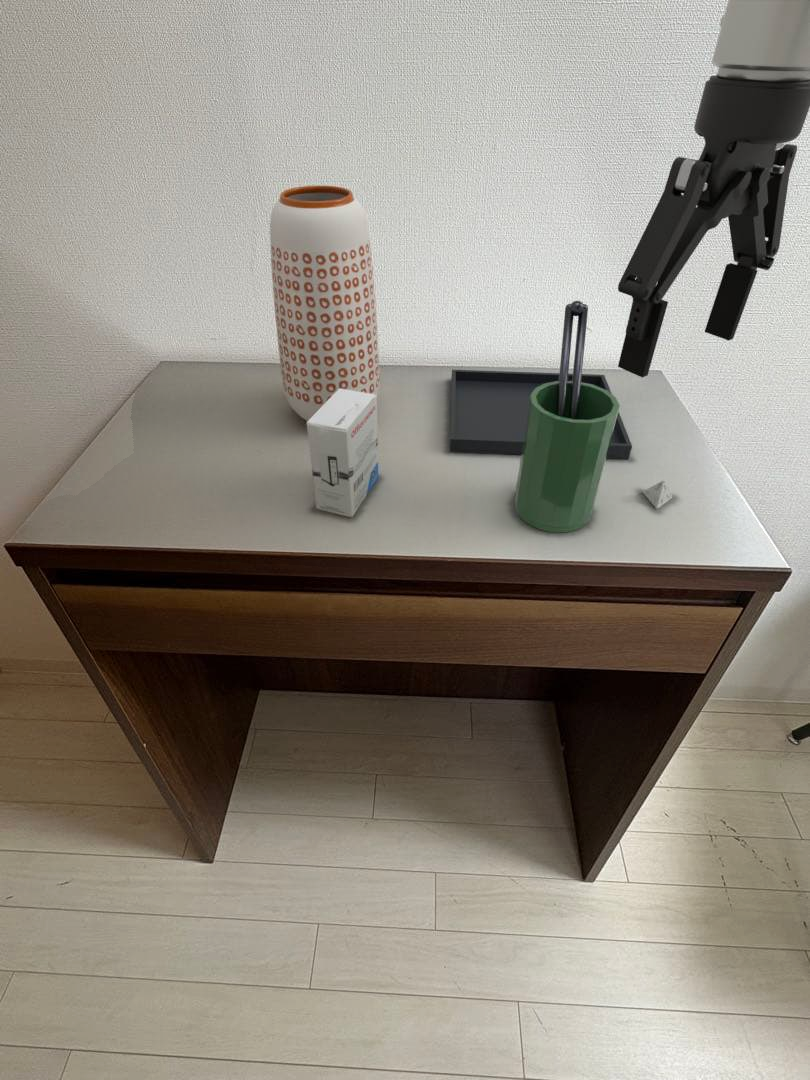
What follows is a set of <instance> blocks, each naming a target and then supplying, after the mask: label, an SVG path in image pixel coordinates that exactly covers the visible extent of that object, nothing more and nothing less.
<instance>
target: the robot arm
mask: <svg viewBox="0 0 810 1080" xmlns="http://www.w3.org/2000/svg"><path fill="white" fill-rule="evenodd" d="M719 26H720V29H719V33H718V36H717V40H716V43H715V47H714V51H713V55H712V57H711V58H712V59H711V63H712V64H713V67H717V68H718V69H717V74H715V75H710V77H709V79H708V80H706V81H705V83H704V87H703V91H702V94H701V99H700V103H699V106H698V110H697V114H696V118H695V122H694V126H693V127H694V128H693V129H694V132H695V134H696V135H698V136H699V137H701V138H702V137H703V139H704V146H703V149H702V152H701V154H700V156H699V158H698V159H694V158H688V157H683V156H678V157H677V156H676V158H675V159H674V160H673V162H672V164H671V167H670V170H669V173H668V177H667V180H666V183H665V186H664V189H663V192H662V194H661V197H660V198H659V201H658V203H657V205H656V207H655V208H654V211H653V212H652V215H651V217H650V219H649V221H648V223H647V224H646V227H645V229H644V231H643V234H641V237H640V238H639V242H638V243H637V246H636V247H635V249H634V251H633V254H632V256H631V258H630V260H629V261H628V264H627V265H626V268H625V270H624V272H623V274H622V276H621V278H620V280H619V282H618V285H617V291H618V292H619V293H622V294H625V295H627V296H630V297H631V298H632V303H631V307H630V313H629V316H628V320H627V324H626V328H625V335H624V340H623V343H622V348H621V352H620V356H619V360H618V364H617V368H619V369H622V370H625V371H627V372H629V373H631V374H634V375H636V376H638V377H640V378H645V377H647V376H648V375H649V372H650V368H651V366H652V361H653V357H654V354H655V350H656V347H657V343H658V340H659V337H660V332H661V329H662V325H663V323H664V318H665V315H666V311H667V307H668V305H669V301H667V300H664V299H663V298H664V297H665V295H666V294H667V292H668V291H669V289H670V288H671V287H672V285H673V283H674V282H675V280H676V279H677V277H678V276H679V274H680V273H681V272H682V270H683V269H684V267H685V265H686V264H687V262H688V261H689V259H690V258H691V256H692V255H693V254H694V252H695V251H696V249H697V248H698V246H699V244H700V243H701V241H702V240H703V239H704V237H705V236H706V234H707V232H708V231H710V230H712V229H715V228H717V227H718V225H719V224H721V221H722V220H724V219H727V218H728V226H729V233H730V240H731V241H730V242H731V249H732V255H733V256H732V257H733V261H734V263H732V262H729V263H727V264H726V265H725V267H724V271H723V274H722V278H721V280H720V284H719V285H718V289H717V292H716V295H715V298H714V301H713V304H712V307H711V310H710V314H709V317H708V320H707V323H706V326H705V328H704V333H706V334H709V335H712V336H715V337H717V338H720V339H723V340H725V341H732V340H734V337H735V334H736V331H737V329H738V326H739V323H740V321H741V319H742V315H743V312H744V309H745V308H746V304H747V301H748V299H749V296H750V293H751V290H752V287H753V285H754V282H755V279H756V277H757V274H758V272H759V270H757V269H761V270H764V271H769V270H770V269H771V268H772V266H773V265H774V261H775V256H776V255H777V254H778V252H779V249H780V244H781V237H782V230H783V224H784V223H783V222H784V216H785V209H786V201H787V195H788V188H789V180H790V174H791V171H792V167H793V164H794V161H795V158H796V155H797V152H798V145H797V144H789V142H793V141H794V140H796V139H797V138H798V137H799V136H800V134H801V132H802V130H803V127H804V125H805V121H806V119H807V116H808V113H809V111H810V0H727V4H726V6H725V11H724V14H723V15H722V17H721V20H720V23H719ZM766 238H767V240H766ZM735 262H736V264H735Z"/></svg>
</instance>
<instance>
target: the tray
mask: <svg viewBox="0 0 810 1080" xmlns="http://www.w3.org/2000/svg"><path fill="white" fill-rule="evenodd" d="M559 374H560V372H539V371H538V372H535V371H534V372H533V371H532V372H531V371H506V370H505V371H503V370H477V369H451V381H450V384H451V385H450V420H449V421H450V422H449V423H450V424H449V426H450V427H449V453H465V454H466V453H467V454H468V453H469V454H490V455H491V454H492V455H517V456H521V454H522V447H523V441H524V434H525V427H526V421H527V414H528V408H529V401H530V396H531V394H532V392H533V391H534V389H535V388H537V387H539V386H541V385H543V384H545V383H550V382H555V381H559ZM572 379H573V373H568V381H572ZM581 382H583V383H588V384H592V385H595V386H597V387H600V388H602V389H605V390H607V391H608V392H609V393H611V394H612V395H613V393H612V390H611V388H610V385H609V383H608V381H607V378H606V376H605V374H593V373H592V374H591V373H582V377H581ZM632 448H633V444H632V442H631V440H630V437H629V434H628V432H627V429H626V427H625V424H624V422H623V419H622V416H621V414H620V412H619V411H618V415H617V418H616V422H615V426H614V430H613V434H612V438H611V441H610V445H609V449H608V453H607V457H606V459H614V460H629V458H630V456H631V453H632Z"/></svg>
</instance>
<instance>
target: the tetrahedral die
mask: <svg viewBox="0 0 810 1080" xmlns="http://www.w3.org/2000/svg"><path fill="white" fill-rule="evenodd" d="M642 494H643V495H644V496H645V497H646V499H648V501H649V502H650V503H651V504H652V505H653V507H654V508H655V509H656V510H658V509H660V508H661V507H662V506H663V505H665V504H666V503H667V502H669V501H670V500H672V499H673V495H672V493H671V491H670V489H669V487H668V485H667V483H666V481H665V480H664V479H662V480H661V481H660V482H658V483H656V484H654V485H652V486H650V487H649V488H647V489H645V490H643V491H642Z"/></svg>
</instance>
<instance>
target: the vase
mask: <svg viewBox="0 0 810 1080" xmlns="http://www.w3.org/2000/svg"><path fill="white" fill-rule="evenodd" d="M364 210H365V209H364V207H363V206H362V204H361V203H360V201H359V200H358V199H357V198H356V197H355V196H354V193H353V192H352V191H351V190H350V189H348V188H345V187H341V186H334V185H304V186H296V187H292V188H288V189H285V190H283V191H282V192H281V193H280V195H279V198H278V200H277V201H276V202H275V203H274V205H273V207H272V210H271V214H270V221H269V237H270V238H269V240H270V241H269V243H270V264H271V279H272V281H271V282H272V289H273V290H272V293H273V304H274V307H273V308H274V315H275V316H274V317H275V326H276V337H277V346H278V355H279V364H280V373H281V374H280V375H281V381H282V388H283V392H284V395H285V398H286V400H287V402H288V403H289V406H290V407H291V408H292V410H294V412H295V413H296V414H297V415H298V416H299V417H300V418H302V419H303V420H305V422H307V421H308V420H309V419H310V418H311V417H312V416H313V415H314V414H315V413H316V412H317V411H318V410H319V409H320V408H321V407H322V406H323V405H324V404H325V403H326V402H327V401H328V400H329V399H330V398H331V397H332V395H333V394H334V393H335V392H336V391H337V390H338V389H340V388H342V389H348V390H354V391H359V392H365V393H370V394H376V395H377V396H378V395H379V390H380V381H381V375H380V355H379V354H380V353H379V337H378V336H379V335H378V320H377V319H378V318H377V303H376V293H375V278H374V268H373V267H374V266H373V259H372V258H373V257H372V250H371V242H370V235H369V234H370V233H369V228H368V227H369V226H368V222H367V217H366V213H365V211H364Z"/></svg>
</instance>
